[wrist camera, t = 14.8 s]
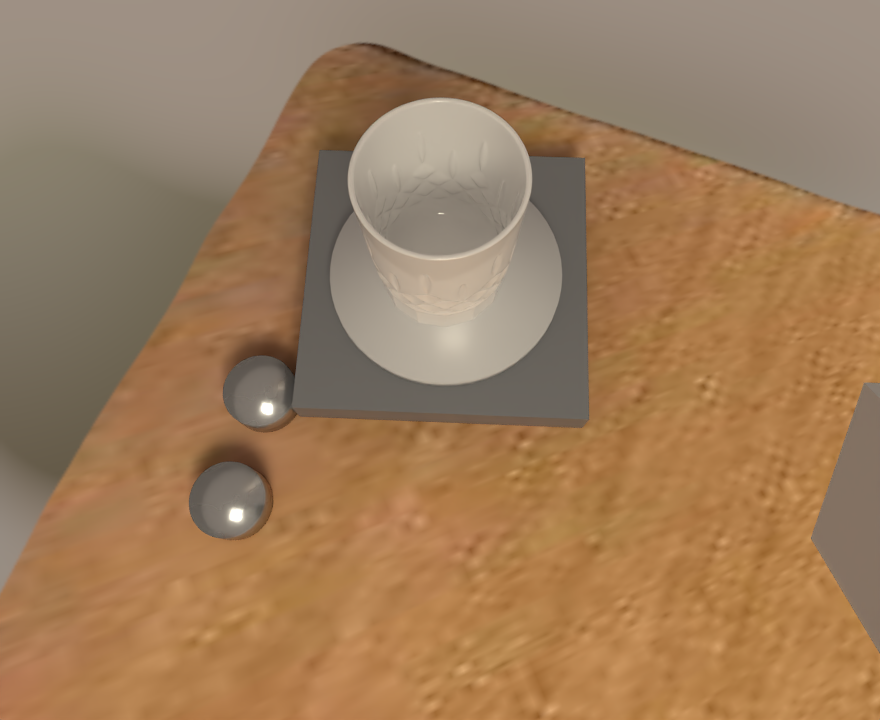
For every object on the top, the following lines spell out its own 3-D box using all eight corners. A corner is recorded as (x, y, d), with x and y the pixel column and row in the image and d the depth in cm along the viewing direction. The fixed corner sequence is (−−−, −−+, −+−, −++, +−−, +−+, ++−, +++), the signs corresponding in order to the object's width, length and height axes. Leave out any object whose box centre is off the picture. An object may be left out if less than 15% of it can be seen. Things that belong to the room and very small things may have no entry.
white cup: (489, 193, 42) (500, 78, 32) (531, 316, 39) (557, 231, 30) (357, 228, 41) (328, 121, 31) (392, 354, 39) (372, 280, 29)
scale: (578, 168, 45) (587, 140, 42) (581, 427, 40) (591, 416, 38) (326, 161, 46) (318, 132, 43) (300, 416, 41) (288, 403, 38)
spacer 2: (278, 470, 40) (270, 464, 38) (267, 543, 39) (258, 541, 37) (208, 464, 40) (196, 458, 39) (195, 537, 39) (182, 534, 37)
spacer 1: (305, 366, 42) (298, 356, 40) (299, 434, 41) (291, 427, 39) (238, 364, 42) (228, 354, 40) (229, 431, 41) (218, 424, 39)
